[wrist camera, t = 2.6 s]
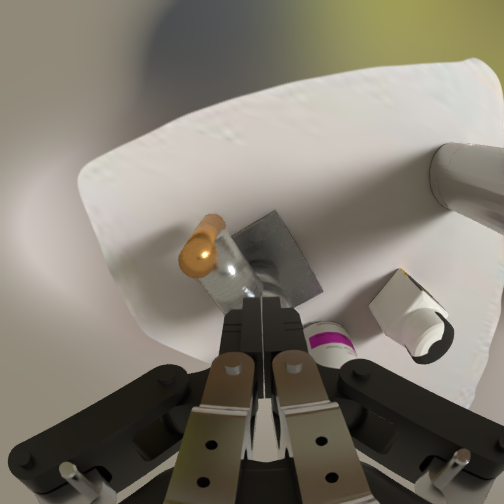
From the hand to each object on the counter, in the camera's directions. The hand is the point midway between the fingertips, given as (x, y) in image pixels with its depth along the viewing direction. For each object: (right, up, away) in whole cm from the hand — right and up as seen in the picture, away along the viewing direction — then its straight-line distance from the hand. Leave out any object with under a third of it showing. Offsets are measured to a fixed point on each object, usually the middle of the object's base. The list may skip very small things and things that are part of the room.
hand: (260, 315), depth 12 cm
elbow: (-1, +1, +19) cm, 19 cm away
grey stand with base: (0, 0, +25) cm, 25 cm away
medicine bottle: (+21, -4, +26) cm, 33 cm away
